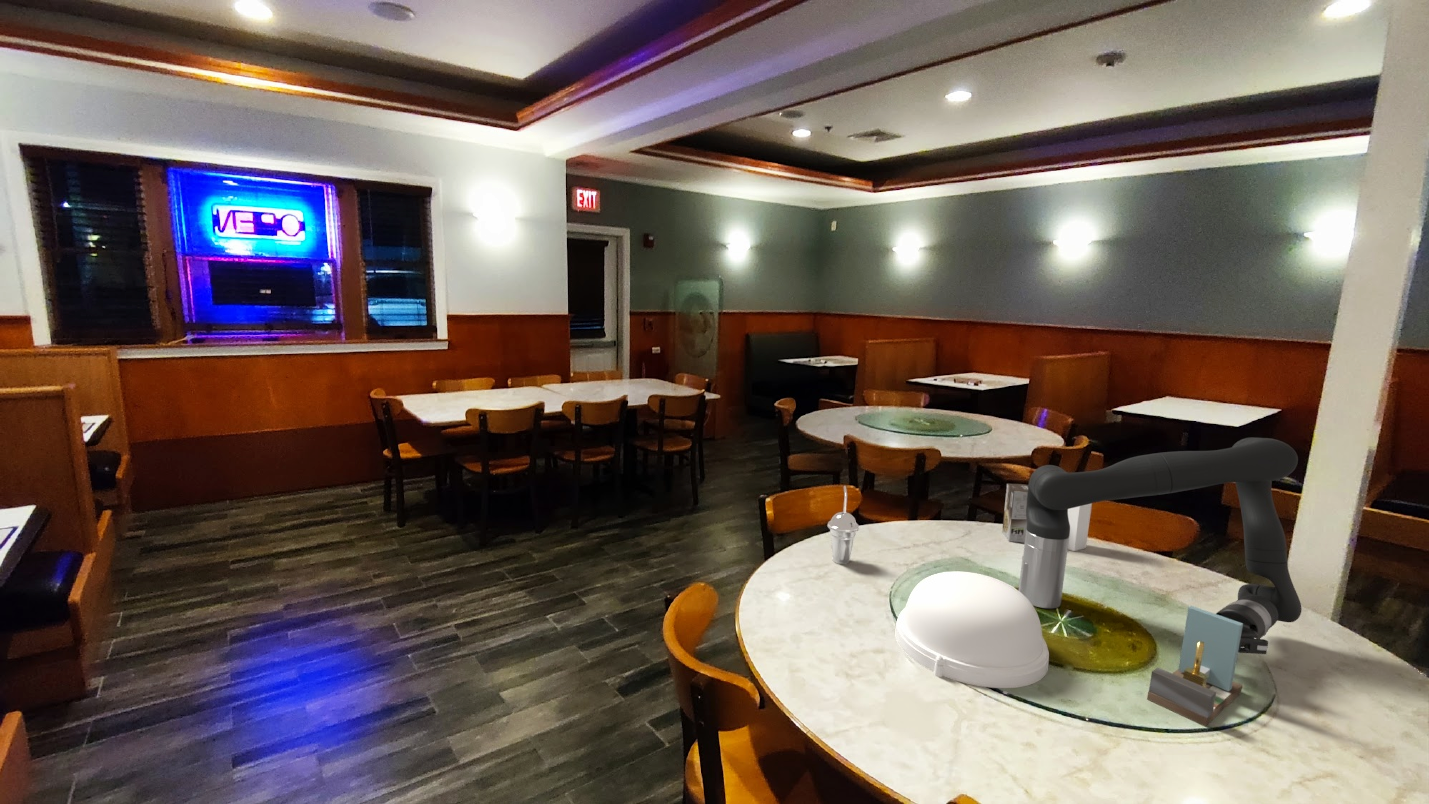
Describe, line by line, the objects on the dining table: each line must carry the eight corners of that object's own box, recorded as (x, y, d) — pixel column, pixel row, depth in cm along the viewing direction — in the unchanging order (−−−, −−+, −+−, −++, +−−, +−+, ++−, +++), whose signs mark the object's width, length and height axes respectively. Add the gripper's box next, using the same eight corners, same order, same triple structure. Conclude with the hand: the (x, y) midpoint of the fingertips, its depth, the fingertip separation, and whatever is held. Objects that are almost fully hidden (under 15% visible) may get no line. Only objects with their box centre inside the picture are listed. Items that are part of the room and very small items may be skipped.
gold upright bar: (1186, 678, 120) (1193, 637, 119) (1205, 686, 118) (1212, 644, 116) (1182, 682, 119) (1189, 640, 118) (1201, 690, 116) (1208, 647, 115)
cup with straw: (820, 561, 175) (824, 491, 172) (833, 551, 183) (838, 484, 180) (849, 570, 171) (854, 497, 167) (862, 559, 178) (867, 490, 175)
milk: (1086, 548, 192) (1096, 477, 188) (1074, 551, 189) (1084, 479, 185) (1066, 541, 197) (1076, 472, 194) (1054, 544, 194) (1063, 474, 191)
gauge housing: (1185, 669, 128) (1189, 644, 127) (1241, 692, 121) (1245, 665, 120) (1147, 699, 118) (1151, 671, 117) (1205, 726, 111) (1210, 697, 110)
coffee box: (1031, 543, 194) (1037, 492, 192) (1008, 541, 195) (1014, 490, 193) (1023, 533, 203) (1028, 484, 200) (1001, 531, 204) (1006, 482, 202)
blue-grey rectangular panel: (1181, 668, 125) (1191, 605, 123) (1231, 688, 119) (1243, 623, 117) (1171, 675, 123) (1182, 611, 120) (1222, 696, 116) (1234, 630, 114)
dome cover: (932, 598, 156) (937, 543, 154) (1067, 645, 136) (1075, 583, 134) (866, 647, 133) (871, 583, 131) (1018, 713, 113) (1027, 639, 111)
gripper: (1206, 592, 136) (1173, 613, 126) (1287, 618, 125) (1258, 643, 115) (1201, 625, 137) (1167, 648, 127) (1280, 654, 126) (1251, 682, 116)
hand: (1211, 646), depth 121 cm, fingers closed
